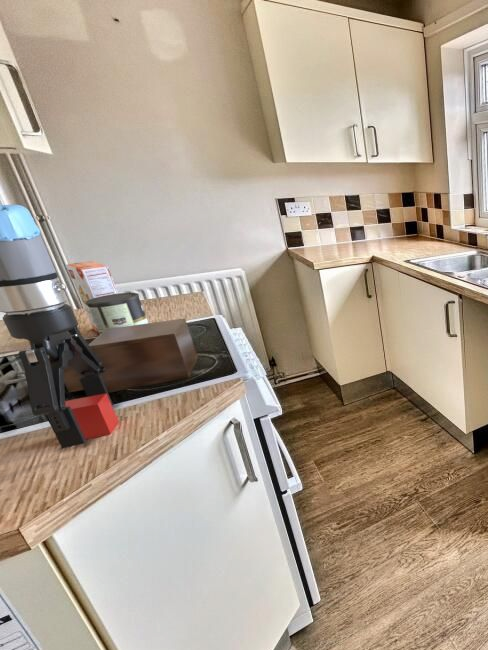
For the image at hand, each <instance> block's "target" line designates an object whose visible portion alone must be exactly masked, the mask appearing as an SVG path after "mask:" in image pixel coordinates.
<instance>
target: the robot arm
mask: <svg viewBox="0 0 488 650" xmlns="http://www.w3.org/2000/svg"><path fill="white" fill-rule="evenodd" d="M65 290H67V285H66V284H65V283H61V280H60V278H59V276H58V273H57V271H56V269H55V266H54V264H53V261H52V259H51V257H50V253H49V252H48V249H47V246H46V244H45V242H44V239H43V237H42V235H41V229H40V228H39V226H38V225H37V224H36V221H35V219H34V218H33V216H32V214H31V211H30V210H28V209H27V207H25V206H23V205H21V204H0V313H4V314H3V316H2V320H3V323H4V324H5V326H6V329H7V330H8V332H9V335H10V336H11V337H12V338H13V339H18V340H26V341H28V342H29V346H30V349H24V350H19V352H18V356H19V359H20V361H21V364H22V367H23V371H25V374H24V375H25V378H26V381H25V382H26V386H27V392H28V397H29V402H30V407H31V413H32V415H33V416H35V417H36V416H42V415H45V417H46V419H47V421H48V423H49V425H50V427H51V429H52V431H53V433H54V436H55V437H56V439H57V441H58V442H59V445H60V447H61V449H66V448H70V447H74V446H79V445H85V444H86V442H87V439H86V440H85V437H84V435H83V433H82V431H81V429H80V427H79V425H78V423H77V420H76V418H75V416H74V414H73V412H72V410H71V408H70V406H68V407H65V401H66V391H65V386H64V370H66V369H67V368H68V365H69V366H70V367H71V368H72V369H74V370H75V371H76V372H77V373H79V374H80V375H81V376H85V377H82V378H80V379H79V380H80V382H81V384H82V386H83V388H84V390H83V391H84V393H85V395H86V397H90V396H95V395H100V394H105V393H107V395H108V398H109V400H110V402H111V405H112V407H114V402H113V400H112V399H111V396H110V393H108V391H107V389H106V387H105V384H104V382H103V380H102V377H101V375H100V374H99V375H98V373H104V372H106V369H105V367H102V365H103V364H102V362H101V360H100V359H99V358H98V356H97V355H96V354H95V352H94V351H93V350H92V348H91V347H90V346H89V345H88V343H87V342H86V341H85V338H84V336H83V335H82V333H81V331H80V329H79V327H78V326H79V321H78V319H77V316H76V313H75V312H74V310H73V308H72V306H71V305H69V304H68V303H67V302H68V297H67V295H66V291H65ZM92 361H93V362H92Z"/></svg>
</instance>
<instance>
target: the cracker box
mask: <svg viewBox="0 0 488 650" xmlns="http://www.w3.org/2000/svg"><path fill="white" fill-rule="evenodd" d="M65 266H66V268H67V271H68V273H69V275H70V279H71V280H72V282H73V284H74V287H75V290H76V291H77V294H78V297H79V298H80V301H81V303H82V306H83V308H84V310H85V312H86V315H87V318H88V320H89V322H90V324H91V326H92V330H94V331H95V332H97V333H98V336H99V335H100V334H99V331H98V329H97V326H96V324H95V322H94V319H93V317H92V315H91V312H90V310H89V307H88V305H87V304H86V301H88V300H90V299H93V298H97V297H101V296H106V295H112V294H119V292H118V289H117V287H116V284H115V282H114V278H113V276H112V273H111V271H110V269H109V266H108V265H105V264H102V263H99V262H95V261H91V260H90V261H89V260H88V261H82V262H81V261H80V262H73V263H68V264H65Z"/></svg>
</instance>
